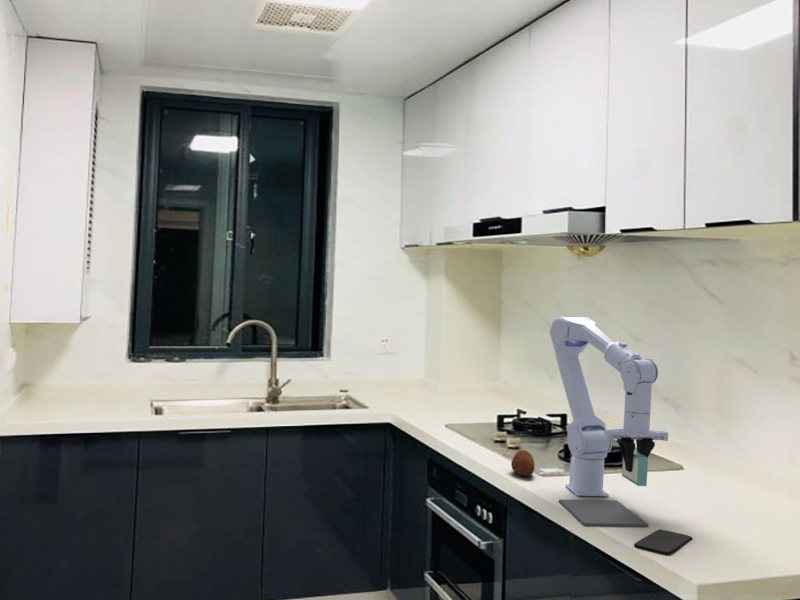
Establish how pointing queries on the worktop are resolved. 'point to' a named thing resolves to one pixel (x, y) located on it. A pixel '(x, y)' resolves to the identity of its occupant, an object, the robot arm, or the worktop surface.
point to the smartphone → (663, 542)
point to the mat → (602, 513)
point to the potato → (523, 463)
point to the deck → (637, 470)
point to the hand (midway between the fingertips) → (634, 471)
